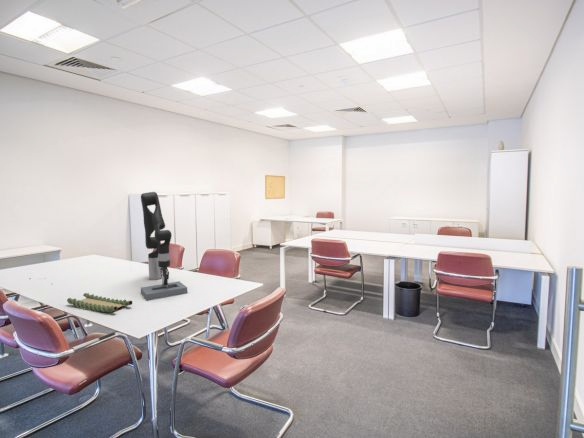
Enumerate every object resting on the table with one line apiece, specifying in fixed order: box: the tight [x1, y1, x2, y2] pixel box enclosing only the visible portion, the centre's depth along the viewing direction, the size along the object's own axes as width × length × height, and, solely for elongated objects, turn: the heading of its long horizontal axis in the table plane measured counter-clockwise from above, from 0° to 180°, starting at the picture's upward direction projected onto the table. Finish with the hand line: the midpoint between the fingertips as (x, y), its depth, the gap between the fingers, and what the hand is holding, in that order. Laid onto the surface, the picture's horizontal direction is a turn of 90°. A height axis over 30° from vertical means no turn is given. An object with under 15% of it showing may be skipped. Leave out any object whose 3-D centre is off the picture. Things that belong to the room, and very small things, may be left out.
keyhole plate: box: [140, 280, 188, 301], centre depth 223 cm, size 18×26×4 cm
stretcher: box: [66, 292, 133, 313], centre depth 198 cm, size 41×14×5 cm, turn 68°
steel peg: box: [161, 275, 169, 289], centre depth 223 cm, size 6×6×12 cm
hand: (165, 284), depth 223 cm, fingers closed on steel peg, 3 cm apart
